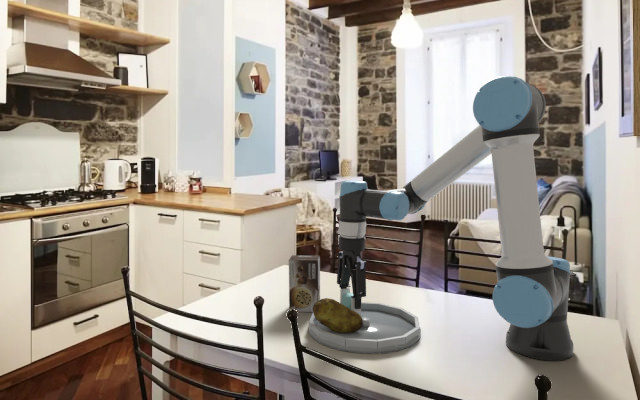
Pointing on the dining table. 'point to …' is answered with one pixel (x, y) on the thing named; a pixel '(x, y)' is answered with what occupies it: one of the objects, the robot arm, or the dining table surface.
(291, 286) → the coffee box
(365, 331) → the ring tray
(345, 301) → the bead
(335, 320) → the potato
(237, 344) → the dining table surface
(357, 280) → the robot arm
